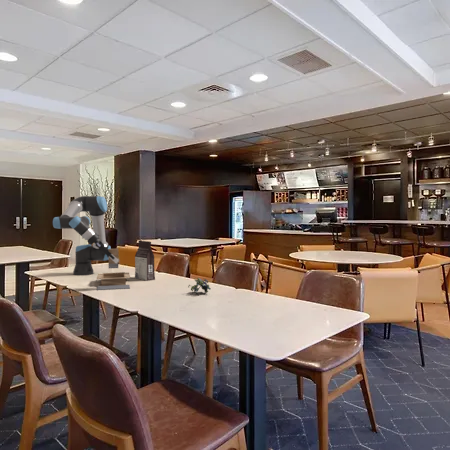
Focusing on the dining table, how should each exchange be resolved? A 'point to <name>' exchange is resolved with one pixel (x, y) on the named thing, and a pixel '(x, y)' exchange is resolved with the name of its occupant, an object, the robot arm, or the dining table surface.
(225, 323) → the dining table surface
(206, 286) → the passion flower
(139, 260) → the coffee bag
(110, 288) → the mat
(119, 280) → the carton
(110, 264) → the box
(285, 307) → the dining table surface
